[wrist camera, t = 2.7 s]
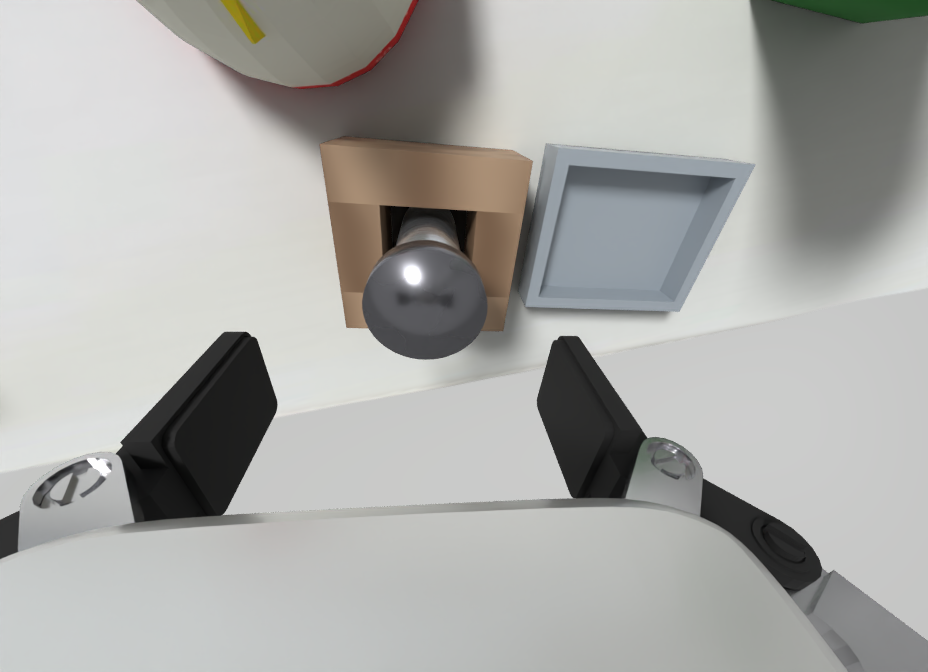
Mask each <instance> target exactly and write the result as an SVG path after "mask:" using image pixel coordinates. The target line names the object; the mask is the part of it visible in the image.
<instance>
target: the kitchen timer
mask: <svg viewBox="0 0 928 672" xmlns="http://www.w3.org/2000/svg"><path fill="white" fill-rule="evenodd" d="M136 1H138V2H139V3H140V4H141V5H142V6H143V7H144V8H146V9H147V10H148V11H149V12H150V13H151V14H152V15H153V16H155V17H156V18H157V19H158V20H159V21H160V22H161V23H163V24H164V25H165V26H166V27H167V28H168V29H170V30H171V31H172V32H173V33H174V34H176V35H177V36H178V37H179V38H181V39H182V40H183V41H185V42H187V43H188V44H190V45H192V46H193V47H195V48H197V49H199V50H200V51H202V52H204V53H206V54H207V55H209V56H211V57H213V58H215V59H216V60H218V61H220V62H222V63H223V64H225V65H227V66H229V67H230V68H232V69H234V70H236V71H237V72H239V73H241V74H243V75H246V76H249V77H253V78H256V79H260V80H264V81H268V82H272V83H276V84H280V85H284V86H287V87H292V88H299V89H306V88H318V87H331V86H339V85H341V84H343V83H345V82H347V81H349V80H351V79H353V78H355V77H358V76H360V75H362V74H364V73H366V72H368V71H370V70H371V69H372V68H373V67H374V66H375V65H376V64H377V63H378V62H379V61H380V60H381V59H382V58H383V57H384V56H385V55H386V54H387V53H388V51H389V50H390V49H391V48H392V47H393V46H394V45H395V44H396V43H397V42H398V41H399V39H400V37H401V35H402V33H403V31H404V29H405V27H406V25H407V23H408V21H409V19H410V17H411V14H412V12H413V10H414V8H415V6H416V4H417V2H418V0H136Z"/></svg>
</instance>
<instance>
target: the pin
mask: <svg viewBox="0 0 928 672" xmlns="http://www.w3.org/2000/svg"><path fill="white" fill-rule="evenodd" d="M487 308H488V305H487V297H486V293H485V289H484V285H483V282H482V278H481V276H480V273H479V271H478V270H477V268H476V266H475V265H474V264H473V262H472V261H471V260H470V259H469V258H468V257H467V256H466V255H465V254H464V253H462V252H461V251H460V247H459V242H458V236H457V231H456V226H455V221H454V218H453V216H452V214H451V212H450V211H449V210H448V209H435V208H419V207H410V208H409V209H408V210H407V212H406V213H405V215H404V218H403V221H402V225H401V229H400V232H399V236H398V240H397V243H396V247H394V248H392V249H391V250H389V251H388V252H386V253H385V254H384V255H383V256H382V257H381V258H380V259H379V260H378V261H377V263H376V264H375V266H374V267H373V269H372V271H371V273H370V276H369V278H368V281H367V283H366V286H365V289H364V293H363V298H362V310H363V316H364V319H365V322H366V324H367V326H368V328H369V330H370V331H371V333H372V334H373V335H374V337H375V338H376V339H377V340H378V341H379V342H380V343H381V344H383V345H384V346H385V347H387V348H388V349H390V350H392V351H393V352H395V353H398V354H400V355H403V356H406V357H410V358H415V359H438V358H443V357H447V356H449V355H452V354H455V353H457V352H459V351H461V350H462V349H464V348H465V347H467V346H468V345H469V344H470V343H471V342H472V341H473V340H474V339H475V338H476V337H477V336H478V334H479V333H480V331H481V329H482V328H483V326H484V323H485V320H486V316H487Z"/></svg>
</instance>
